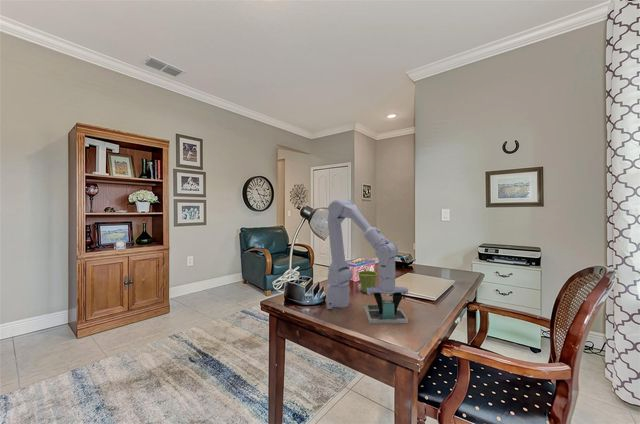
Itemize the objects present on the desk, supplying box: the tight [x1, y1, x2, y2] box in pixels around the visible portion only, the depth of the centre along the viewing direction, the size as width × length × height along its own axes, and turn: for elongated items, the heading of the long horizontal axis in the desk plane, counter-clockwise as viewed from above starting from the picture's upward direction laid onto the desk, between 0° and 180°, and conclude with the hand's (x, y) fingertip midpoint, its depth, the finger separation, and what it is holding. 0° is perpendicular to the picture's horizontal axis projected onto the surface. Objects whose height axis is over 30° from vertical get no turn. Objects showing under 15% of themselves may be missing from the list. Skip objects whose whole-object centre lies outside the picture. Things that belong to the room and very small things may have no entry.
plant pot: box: [357, 270, 378, 293], centre depth 126 cm, size 9×9×9 cm
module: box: [381, 299, 394, 319], centre depth 95 cm, size 4×4×6 cm
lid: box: [363, 304, 400, 313], centre depth 103 cm, size 13×8×1 cm, turn 88°
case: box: [365, 309, 409, 324], centre depth 95 cm, size 13×8×2 cm, turn 88°
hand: (387, 313), depth 95 cm, fingers open, 4 cm apart
